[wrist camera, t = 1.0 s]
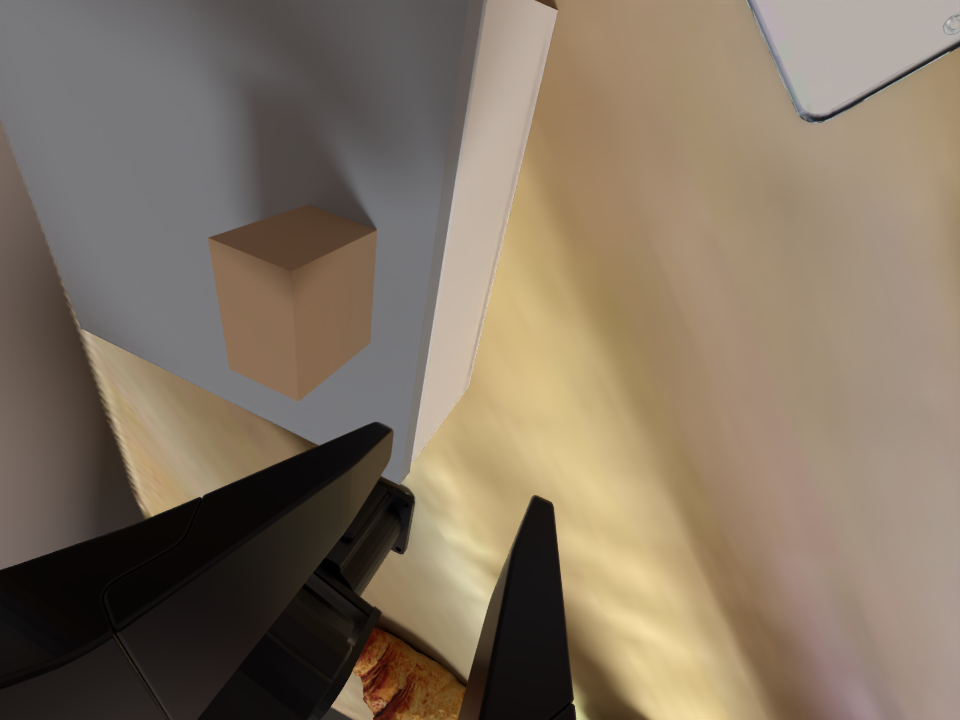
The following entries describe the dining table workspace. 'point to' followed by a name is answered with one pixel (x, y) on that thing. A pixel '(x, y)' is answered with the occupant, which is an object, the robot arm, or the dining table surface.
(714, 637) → the dining table surface
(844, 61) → the smartphone
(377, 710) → the croissant
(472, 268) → the lidded box
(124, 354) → the dining table surface
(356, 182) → the lid
